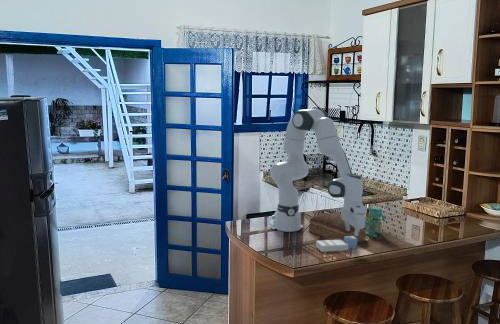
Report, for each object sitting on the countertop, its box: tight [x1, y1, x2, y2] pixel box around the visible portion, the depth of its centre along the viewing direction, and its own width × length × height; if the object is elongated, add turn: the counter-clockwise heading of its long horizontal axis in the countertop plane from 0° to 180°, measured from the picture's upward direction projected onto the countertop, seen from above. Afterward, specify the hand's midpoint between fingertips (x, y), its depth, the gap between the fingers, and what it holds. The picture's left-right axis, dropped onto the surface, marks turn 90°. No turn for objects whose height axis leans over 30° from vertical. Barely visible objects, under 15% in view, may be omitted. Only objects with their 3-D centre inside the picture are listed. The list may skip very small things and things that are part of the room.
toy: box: [365, 206, 386, 238], centre depth 249 cm, size 10×10×15 cm
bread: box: [308, 212, 366, 242], centre depth 246 cm, size 17×29×11 cm, turn 36°
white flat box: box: [315, 239, 349, 253], centre depth 225 cm, size 8×14×3 cm, turn 103°
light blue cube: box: [344, 236, 358, 250], centre depth 227 cm, size 5×5×5 cm
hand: (351, 233), depth 226 cm, fingers open, 8 cm apart
